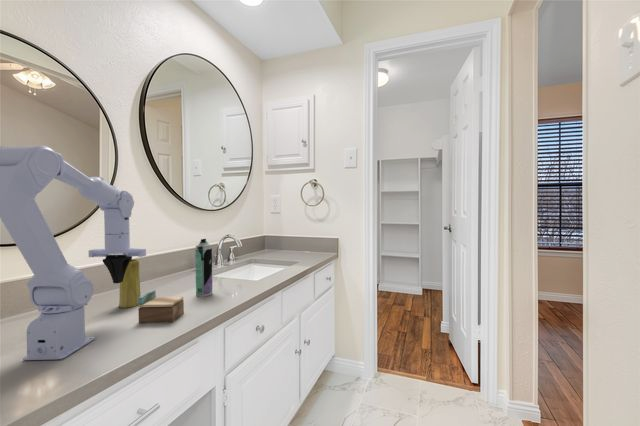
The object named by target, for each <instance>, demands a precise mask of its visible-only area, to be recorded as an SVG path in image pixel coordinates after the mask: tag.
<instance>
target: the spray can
mask: <svg viewBox="0 0 640 426" xmlns="http://www.w3.org/2000/svg"><path fill="white" fill-rule="evenodd" d="M194 249H195V250H194V251H195V254H194V255H195V256H194V257H195V296H196V297H199V298H200V297H203V298H204V297H210V296H212V295H213V247H212V244H210V243H209V242H208V240H207V238H202V239H201V238H200V241H199V243H198V244H196V245H195V248H194Z"/></svg>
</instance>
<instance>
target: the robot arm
mask: <svg viewBox="0 0 640 426" xmlns="http://www.w3.org/2000/svg"><path fill="white" fill-rule="evenodd" d="M53 180H57V181H59V182H62V183H64V184H66V185H69V186H71V187H73V188H75V189H78V192H79V195H80V196H81V197H83V198H85V199H87V200H89V201H91V202H93V203H95V204H97V205H98V207H99V209H100V210H101V211H103V212H104V213H103V215H104V216H103V217H104V221H103V222H104V248H100V249H98V248H97V249H96V248H95V249H89V250H88V258H96V257H97V258H98V257H99V258H103V259H102V263H103V264H104V266H105V268H107V270H108V272H109V274H110V276H111V280H112V283H113V284H120V282H123V278H124V275H125V271H126V269H127V266H128V264H129V263H130V261H131V259H133V257H140V258H143V257H145V256H147V249H146V248H131V241H130V240H131V239H130V237H131V236H130V217H132V212H133V208H134V206H135V200H134V198H133V195H132V194H131V193H130V192H128V191H127V190H119V188H117V186H115V185H111V184H110V183H108V182H106V181H105V180H104V177H102V176H91V177H89V176H87V175H86V174H85V173H83V172H81V171H80V170H78V169H77V168H76V167H74V166H73V165H72V164H70V163H68V162H67V161H65V160H64V157H63V155H62V154H61V153H59V152H57V151H55V150H53V149H52V148H50V147H49V146H45V145H37V146H12V147H11V146H10V147H9V146H7V147H6V146H0V220H1V222H2V223H3V225H4V227H5V228H6V230H7V231H8V234H9V235H10V237H11V239H12V240H13V242H14V244H15V246H16V247H17V249H18V251H20V254H21V255H22V257H23V258H24V260H25V262H26V264H27V265H28V267H29V269H30V270H31V272H32V273H33V275H32V276H31V277H30V278H29V280H27V283H26V285H27V288H28V289H29V290H28V291H29V299H30V302H31V303H32V304H33V306H36V307H37V312H41V313H40V314H39V316H38V317H37V318H35V319H34V320H32V321H31V322H30V323H29V324H28V326H27V328H26V356H24V357H22V360H23V361H40V360H41V361H43V360H44V361H46V360H48V361H49V360H51V361H52V360H63V359H64V358H66V357H68V356H70V355H72V354H73V353H74V352H76V351H78V350H79V349H81V348H83V347H84V346H86V345H87V344H90V343H91V342H92V341H94V340H95V339H96V336H86V322H85V321H86V320H85V319H86V318H85V317H86V316H85V315H86V314H85V307H86V306H87V305H88V303H90V300H91V299H92V297H93V295H94V289H95V288H94V283H93V281H92V280H91V279H90V278H88V277H87V276H85V274H84V272H83V270H81V269H79V268H77V267H75V266H73V265H71V264H70V263H68V261H67V260H66V258H65V256H64V254H63V251H62V250H61V247H60V245H59V244H58V242H57V240H56V239H55V237H54V234H53V232H52V231H51V228H50V226H49V225H48V223H47V221H46V219H45V217H44V215H43V213H42V211H41V210H40V207H39V205H38V203H37V202H36V197H37V195H38V194H39V193H41V192H42V191H43V190H44V189H45V188H46V187H47V186H48V185H49V184H50V183H51V182H52V181H53Z"/></svg>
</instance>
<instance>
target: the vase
mask: <svg viewBox="0 0 640 426" xmlns="http://www.w3.org/2000/svg"><path fill="white" fill-rule="evenodd" d="M140 296H142V295H141V279H140V260H139V259H138V258H136V259H133V258H132V259H131V261H130V263H129V264H128V266H127V269H126V271H125V275H124V278H123V282H120V283H119V304H118V307H119V308H122V309H126V308H127V309H129V308H133V307H134V308H135V307H138V298H139V297H140Z"/></svg>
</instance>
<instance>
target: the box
mask: <svg viewBox="0 0 640 426" xmlns="http://www.w3.org/2000/svg"><path fill="white" fill-rule="evenodd" d="M184 309H185V305H184V299H182V300H181V301H179V302H178V303H177V304H175V305H174V306H172V307H138V324H153V323H154V324H159V323H161V324H162V323H173V322H175V321H177V319H179V317H181V316H182V315H184V312H185V310H184Z"/></svg>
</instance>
